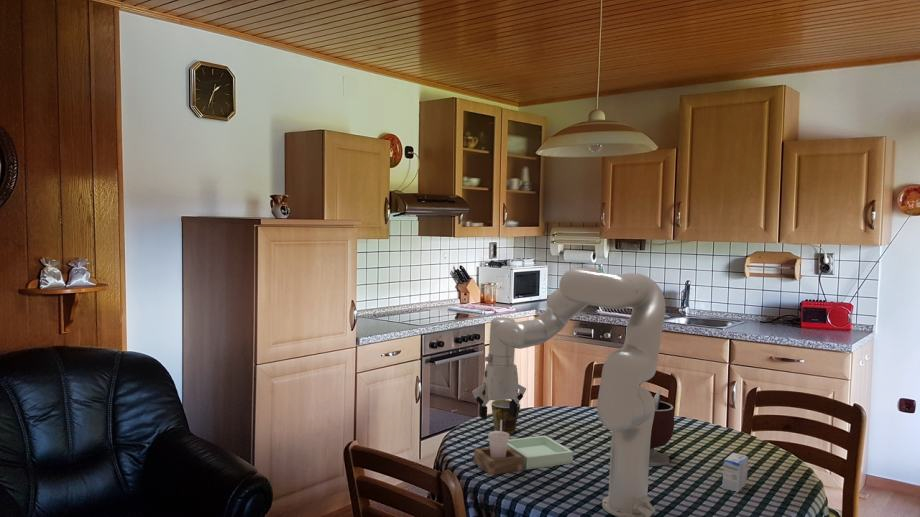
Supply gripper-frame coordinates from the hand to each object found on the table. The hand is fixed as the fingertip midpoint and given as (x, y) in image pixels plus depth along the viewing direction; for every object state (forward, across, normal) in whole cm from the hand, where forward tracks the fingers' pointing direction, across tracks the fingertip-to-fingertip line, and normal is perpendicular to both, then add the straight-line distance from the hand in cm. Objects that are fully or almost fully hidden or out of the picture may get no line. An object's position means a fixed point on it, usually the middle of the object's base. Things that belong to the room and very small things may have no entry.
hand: (498, 417), depth 190 cm
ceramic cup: (+15, +16, +26) cm, 34 cm away
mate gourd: (+14, +49, -10) cm, 52 cm away
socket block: (+15, 0, -1) cm, 15 cm away
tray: (+14, +15, +2) cm, 21 cm away
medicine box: (+14, +56, -37) cm, 69 cm away
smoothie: (+15, 0, -1) cm, 15 cm away
